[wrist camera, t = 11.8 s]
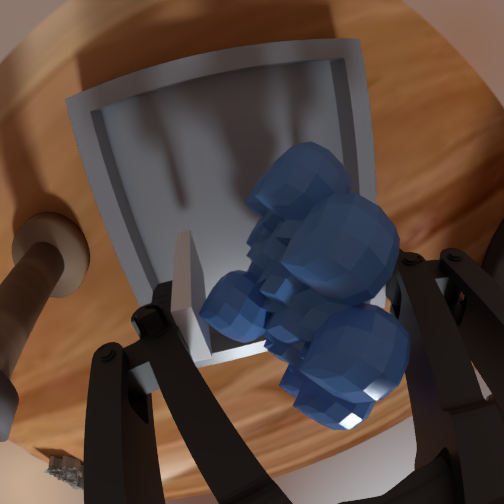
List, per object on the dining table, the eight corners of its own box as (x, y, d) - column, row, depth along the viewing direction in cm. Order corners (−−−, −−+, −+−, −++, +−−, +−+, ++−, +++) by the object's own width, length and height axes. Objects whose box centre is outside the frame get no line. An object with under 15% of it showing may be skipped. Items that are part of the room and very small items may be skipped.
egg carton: (112, 478, 38) (112, 497, 35) (81, 477, 38) (80, 495, 34) (74, 454, 33) (71, 476, 29) (43, 453, 32) (40, 473, 29)
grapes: (173, 138, 14) (114, 259, 3) (307, 120, 15) (512, 190, 4) (213, 324, 19) (244, 506, 9) (314, 302, 20) (398, 459, 10)
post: (70, 200, 17) (-69, 387, 4) (102, 276, 20) (44, 483, 7) (9, 226, 17) (-114, 382, 4) (42, 293, 20) (-30, 465, 6)
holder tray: (336, 45, 16) (359, 38, 13) (356, 296, 26) (372, 317, 23) (83, 98, 15) (65, 99, 12) (175, 345, 24) (175, 372, 22)
